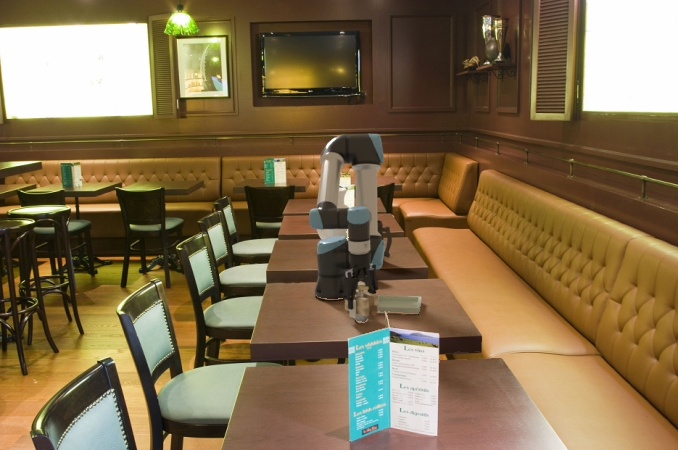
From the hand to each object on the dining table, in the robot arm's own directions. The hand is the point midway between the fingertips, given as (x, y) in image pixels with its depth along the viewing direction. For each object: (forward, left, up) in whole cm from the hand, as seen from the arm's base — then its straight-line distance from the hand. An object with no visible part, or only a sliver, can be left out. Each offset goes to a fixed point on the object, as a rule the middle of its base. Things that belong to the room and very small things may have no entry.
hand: (361, 314), depth 225 cm
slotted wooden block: (0, 0, +1) cm, 1 cm away
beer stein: (-5, +77, -3) cm, 77 cm away
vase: (-31, +108, -3) cm, 112 cm away
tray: (+11, +15, -3) cm, 19 cm away
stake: (0, 0, -3) cm, 3 cm away
